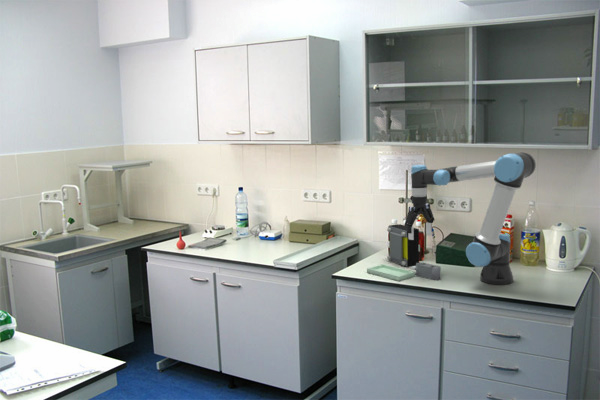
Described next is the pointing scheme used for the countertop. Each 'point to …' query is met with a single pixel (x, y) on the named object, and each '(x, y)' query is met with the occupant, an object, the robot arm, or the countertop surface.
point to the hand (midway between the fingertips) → (420, 237)
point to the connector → (427, 271)
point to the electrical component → (403, 245)
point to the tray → (391, 272)
